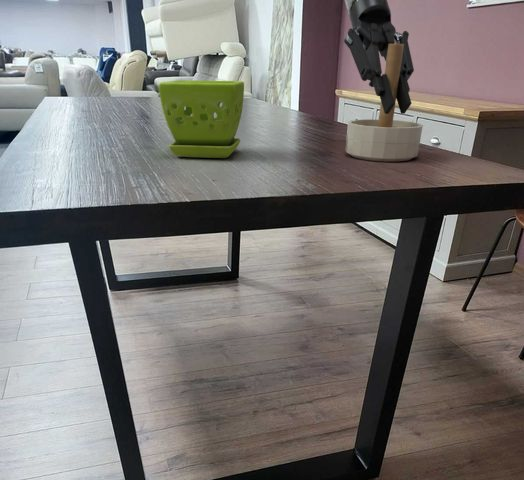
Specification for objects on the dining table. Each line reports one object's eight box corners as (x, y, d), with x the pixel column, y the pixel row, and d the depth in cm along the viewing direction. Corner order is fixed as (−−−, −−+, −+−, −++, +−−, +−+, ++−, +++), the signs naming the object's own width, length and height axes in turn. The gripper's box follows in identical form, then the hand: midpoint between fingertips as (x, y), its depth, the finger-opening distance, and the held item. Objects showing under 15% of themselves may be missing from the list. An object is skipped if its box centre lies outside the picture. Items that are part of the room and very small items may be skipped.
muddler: (387, 135, 101) (400, 44, 93) (400, 139, 97) (415, 44, 89) (366, 136, 100) (377, 43, 92) (378, 139, 96) (391, 43, 87)
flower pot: (245, 150, 101) (246, 80, 95) (237, 162, 89) (236, 83, 83) (179, 147, 102) (174, 78, 96) (161, 159, 90) (155, 81, 84)
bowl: (393, 149, 106) (397, 118, 103) (431, 161, 95) (438, 127, 92) (333, 151, 102) (336, 119, 99) (366, 163, 91) (370, 128, 88)
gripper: (393, 26, 103) (423, 121, 98) (324, 23, 99) (352, 122, 94) (412, -8, 96) (445, 93, 91) (338, -13, 92) (369, 93, 87)
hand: (398, 108), depth 92 cm, fingers closed on muddler, 3 cm apart
